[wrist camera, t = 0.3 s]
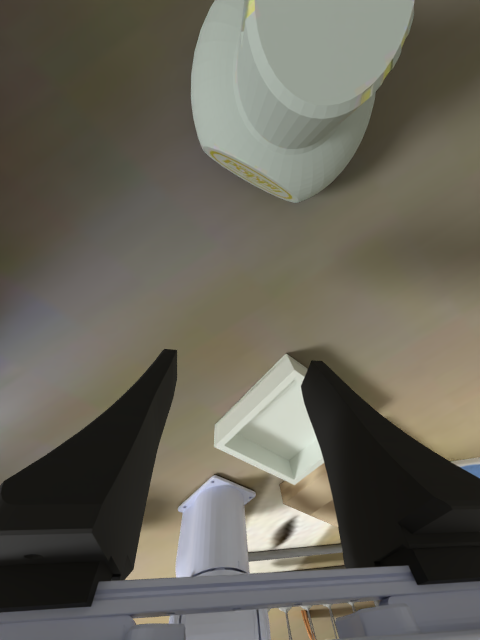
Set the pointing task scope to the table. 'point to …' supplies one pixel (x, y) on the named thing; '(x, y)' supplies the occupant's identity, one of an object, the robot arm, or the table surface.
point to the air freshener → (292, 85)
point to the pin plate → (311, 496)
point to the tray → (273, 425)
